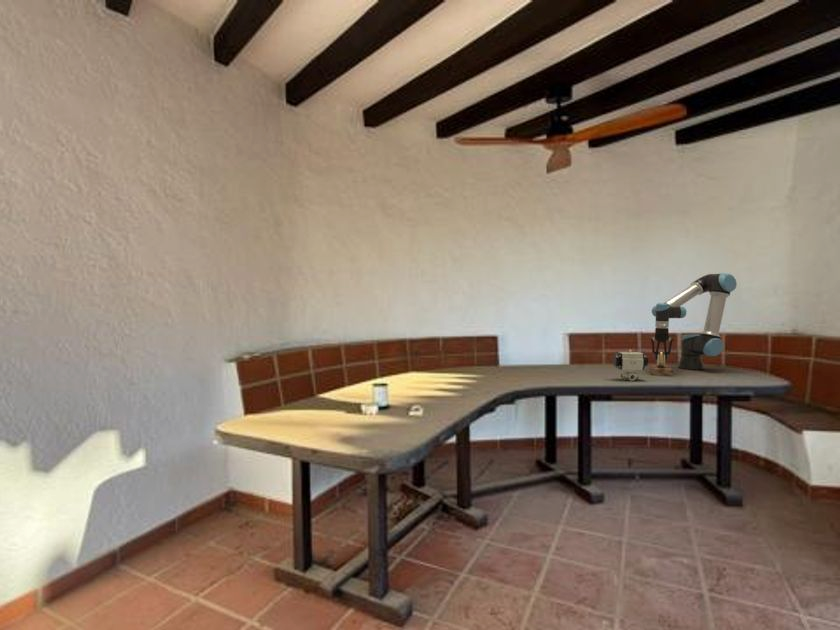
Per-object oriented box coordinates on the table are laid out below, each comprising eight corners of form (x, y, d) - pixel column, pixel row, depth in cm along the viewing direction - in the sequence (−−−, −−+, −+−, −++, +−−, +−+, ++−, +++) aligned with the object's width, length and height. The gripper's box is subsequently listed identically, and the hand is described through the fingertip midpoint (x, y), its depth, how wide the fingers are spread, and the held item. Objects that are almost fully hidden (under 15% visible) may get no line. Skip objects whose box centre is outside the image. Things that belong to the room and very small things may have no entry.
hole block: (669, 372, 309) (670, 366, 309) (673, 376, 294) (673, 369, 294) (649, 371, 313) (649, 365, 313) (651, 375, 298) (651, 368, 298)
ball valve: (616, 381, 278) (617, 350, 277) (612, 378, 287) (612, 349, 286) (648, 381, 277) (649, 351, 276) (643, 378, 285) (643, 349, 285)
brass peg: (663, 370, 304) (663, 351, 304) (663, 371, 301) (664, 352, 301) (657, 370, 306) (658, 351, 305) (658, 370, 303) (658, 352, 302)
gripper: (648, 327, 302) (647, 364, 303) (676, 328, 296) (675, 366, 297) (647, 326, 309) (646, 363, 310) (675, 327, 303) (674, 364, 304)
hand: (660, 364), depth 303 cm, fingers closed on brass peg, 3 cm apart
